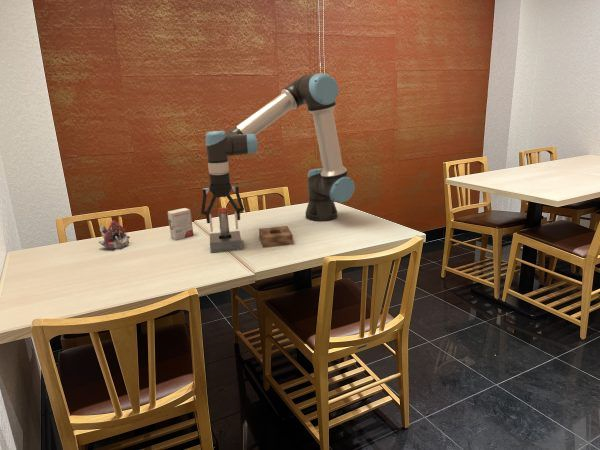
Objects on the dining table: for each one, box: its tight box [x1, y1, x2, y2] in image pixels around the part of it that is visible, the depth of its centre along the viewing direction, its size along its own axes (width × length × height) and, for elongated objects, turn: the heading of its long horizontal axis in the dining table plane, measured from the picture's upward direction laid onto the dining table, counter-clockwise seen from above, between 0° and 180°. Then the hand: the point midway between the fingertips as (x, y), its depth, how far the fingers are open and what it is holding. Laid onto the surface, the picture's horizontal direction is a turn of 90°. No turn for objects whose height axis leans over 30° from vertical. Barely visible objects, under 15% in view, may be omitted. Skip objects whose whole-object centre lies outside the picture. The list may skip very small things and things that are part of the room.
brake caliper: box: [98, 220, 131, 250], centre depth 180 cm, size 11×11×12 cm
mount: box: [258, 225, 294, 248], centre depth 179 cm, size 12×12×4 cm
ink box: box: [167, 207, 194, 241], centre depth 188 cm, size 9×5×12 cm, turn 129°
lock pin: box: [217, 207, 230, 239], centre depth 174 cm, size 3×3×16 cm
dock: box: [209, 230, 243, 254], centre depth 175 cm, size 12×12×4 cm
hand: (224, 229), depth 174 cm, fingers open, 9 cm apart
